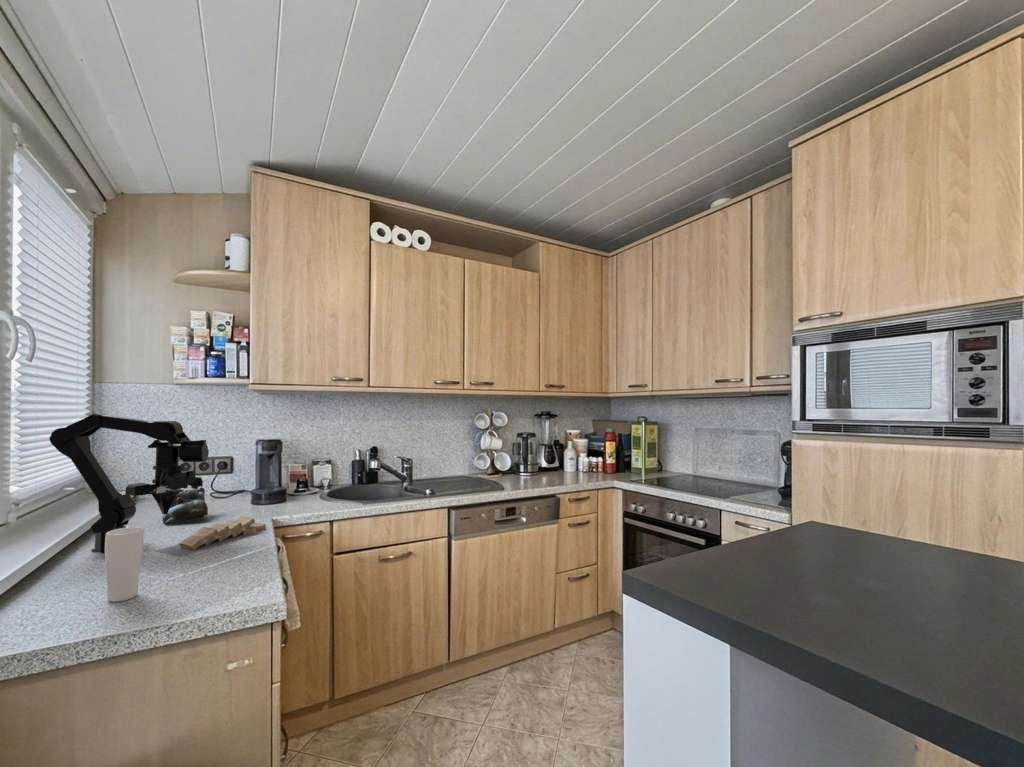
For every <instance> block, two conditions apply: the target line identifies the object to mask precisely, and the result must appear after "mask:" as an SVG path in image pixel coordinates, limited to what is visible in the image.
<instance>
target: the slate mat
mask: <svg viewBox="0 0 1024 767" xmlns="http://www.w3.org/2000/svg"><path fill="white" fill-rule="evenodd" d="M259 534H260V533H259V532H253V533H249V534H246V535H241V534H238V535H237V536H236V537H226V538H225V539H223V540H222V541H221V542H218V541H212V542H211V543H210V544H208V545H207V546H205V545H201V546H199V547H198V548H196V549H195V550H190V549H185V548H181V547H180V545H179V543H178V544H174V545H171V546H167V547H163V548H160V549H157V550H154V552H155V553H156V552H157V553H162V554H167V555H171V556H175V557H179V558H180V557H183V556H188V555H191V554H194V553H198V552H201V551H204V550H208V549H211V548H215V547H218V546H219V547H220V546H222V545H225V544H228V543H229V544H230V543H232V542H236V541H238V540H242V539H246V538H250V537H254V536H256V535H259Z"/></svg>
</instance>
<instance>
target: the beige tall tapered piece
mask: <svg viewBox="0 0 1024 767" xmlns="http://www.w3.org/2000/svg"><path fill="white" fill-rule="evenodd" d="M125 527H126V528H119V529H115V530H111V531H109V532H107V533H106V537H105V553H104V560H105V562H104V563H105V571H106V585H107V586H106V589H107V599H106V600H107V601H109V602H111V603H119V602H125V601H127V600H131V599H134V598H135V597H137V595H138V594H139V584H140V583H139V582H140V576H141V575H140V574H141V567H142V561H143V559H142V558H143V552H144V551H143V550H144V541H145V539H144V538H145V536H144V535H145V533H144V532H145V530H144V528H143V527H142V526H125Z"/></svg>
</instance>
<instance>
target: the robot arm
mask: <svg viewBox="0 0 1024 767" xmlns="http://www.w3.org/2000/svg"><path fill="white" fill-rule="evenodd" d="M100 429H107V430H115V431H122V432H128V433H129V432H130V433H136V434H142V435H144V436H147V437H148V438H151V439H154V440H153V441H152V443H150V444H148V445H147V449H155V465H153V466H152V470H154V479H152V480H151V481H152V483H151V484H150V483H146V482H136V483H131V484H130V483H129V484H127V486H126V488H125V493H124V494H122V493H120V492H119V491H117V489H116V488H115V486H114V484H113V483H112V481H111V480H110V478H109V477H108V475H107V474H106V473H105V471H104V469H103V468H102V466H101V465H100V463H99V461H98V460H97V458H96V457H95V455H94V454H93V452H92V450H91V449H92V448H91V446H92V445H91V440H90V436H92V435H94V434H95V433H97V432H98V431H99V430H100ZM49 442H50V444H51V445H52V446H53V447H54V448H55V449H56V450H57V451H58V452H59V453H60V454H62V455H64V456H66V457H67V458H69V459H70V460H71V461H72V463H73V465H74V466H75V468H76V470H77V471H78V472H79V474H80V475H81V477H82V479H84V481H85V483H86V484H87V486H88V487H89V489H90V490H91V492H92V493H93V495H94V496H95V498H96V500H97V503H98V506H97V507H98V513H99V516H100V517H99V519H97V520H96V521H95V522H94V523H92V525H91V526H90V529H91V531H92V533H93V534H94V548H91V550H90V551H91V552H94V553H100V554H105V537H106V533H107V532H109V531H111V530H115V529H119V528H126V527H127V525H128V524H129V521H130V519H133V517H134V516H135V515H136V511H137V507H136V505H137V503H136V502H135V501H134V500H133V498H132V496H134V497H139V496H144V495H145V496H146V495H151V496H152V497H153V499H154V500H155V502H156V503H157V504H156V505H157V506H158V508H159V510H160V511H161V514H162V515H164V514H167V513H168V511H169V509H170V507H171V505H172V502H173V500H174V499H175V497H176V496H177V495H178V494H179V493H180V492H183V490H181V489H182V488H184V489H185V488H189V487H190V488H191V487H193V488H194V487H198V488H201V487H203V485H204V481H203V480H204V479H203V478H201V477H199V476H196V471H194V470H187V471H185V472H184V471H182V465H180V464H179V462H180V461H179V460H181V461H182V462H183V463H206V462H207V460H208V457H209V447H208V444H207V440H206V439H199V440H191V439H190V438H189V436H188V435H187V434H186V433H185V432H184V429H183V425H182V424H181V423H180V422H179V421H177V420H143V419H138V418H137V419H136V418H130V417H124V416H119V415H118V416H117V415H111V414H106V413H101V412H100V413H92V414H89V415H88V416H86V417H84V418H83V419H80V420H78V421H75V422H73V423H71V424H69V425H67V426H66V427H58V428H56V429H54V430H53V431H52V432H51V434H50V436H49Z"/></svg>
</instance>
